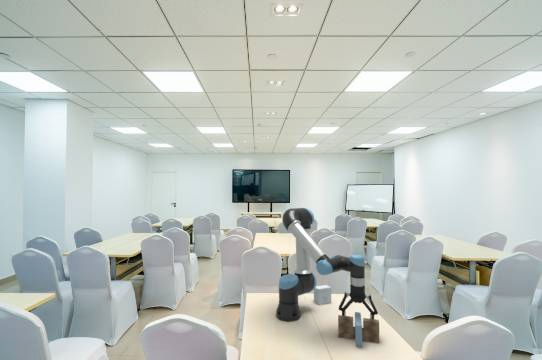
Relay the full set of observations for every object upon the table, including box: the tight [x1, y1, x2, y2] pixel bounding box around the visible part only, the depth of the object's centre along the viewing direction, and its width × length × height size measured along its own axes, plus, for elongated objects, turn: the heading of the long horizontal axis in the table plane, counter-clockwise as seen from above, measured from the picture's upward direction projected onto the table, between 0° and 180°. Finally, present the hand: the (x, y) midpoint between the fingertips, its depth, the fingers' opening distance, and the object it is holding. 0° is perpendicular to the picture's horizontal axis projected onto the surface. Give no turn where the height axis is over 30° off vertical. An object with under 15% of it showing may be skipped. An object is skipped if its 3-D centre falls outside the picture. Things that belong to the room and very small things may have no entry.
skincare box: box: [313, 284, 332, 306], centre depth 190 cm, size 10×6×10 cm, turn 113°
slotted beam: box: [337, 314, 380, 344], centre depth 143 cm, size 20×3×10 cm, turn 74°
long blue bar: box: [354, 311, 363, 348], centre depth 142 cm, size 3×16×10 cm, turn 165°
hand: (357, 325), depth 148 cm, fingers open, 13 cm apart
